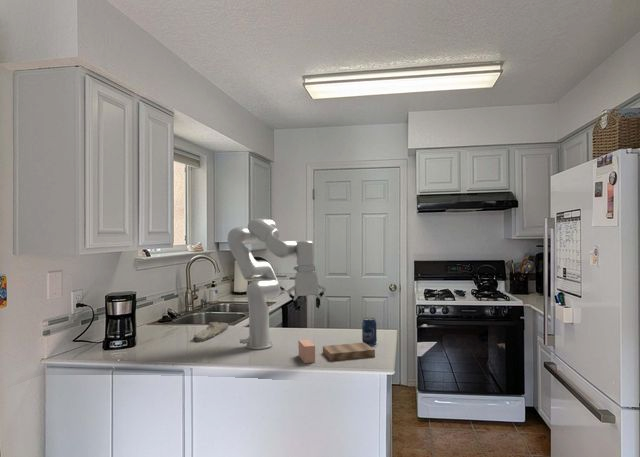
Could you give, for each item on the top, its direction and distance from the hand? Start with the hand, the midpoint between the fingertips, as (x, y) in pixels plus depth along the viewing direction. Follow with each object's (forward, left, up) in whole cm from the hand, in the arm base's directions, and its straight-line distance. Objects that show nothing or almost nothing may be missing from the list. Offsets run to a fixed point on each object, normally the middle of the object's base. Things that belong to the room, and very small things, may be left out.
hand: (306, 308), depth 189 cm
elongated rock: (-39, +61, -22) cm, 75 cm away
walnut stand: (+18, -1, -22) cm, 28 cm away
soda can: (+34, +14, -22) cm, 43 cm away
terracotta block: (-1, -1, -22) cm, 22 cm away
